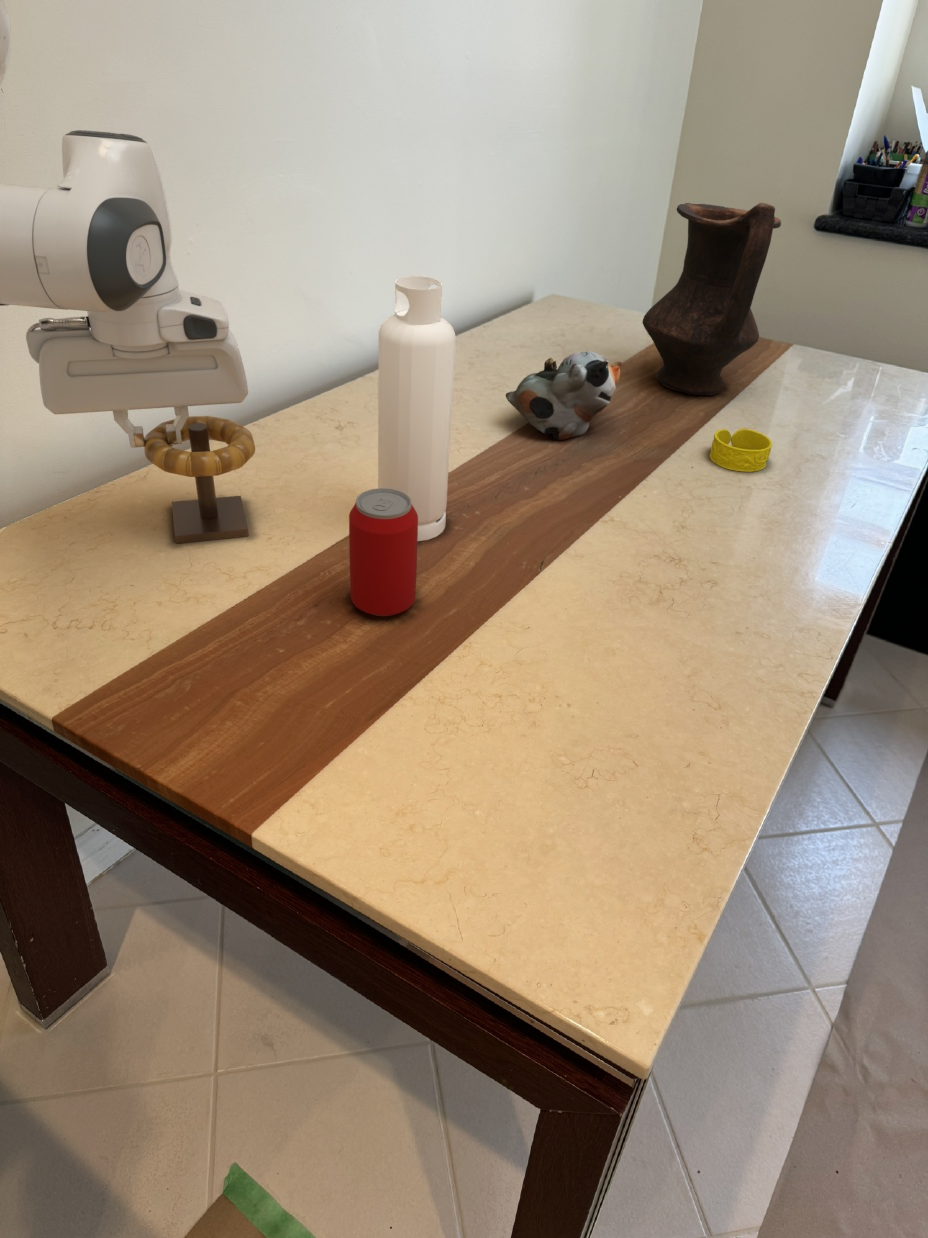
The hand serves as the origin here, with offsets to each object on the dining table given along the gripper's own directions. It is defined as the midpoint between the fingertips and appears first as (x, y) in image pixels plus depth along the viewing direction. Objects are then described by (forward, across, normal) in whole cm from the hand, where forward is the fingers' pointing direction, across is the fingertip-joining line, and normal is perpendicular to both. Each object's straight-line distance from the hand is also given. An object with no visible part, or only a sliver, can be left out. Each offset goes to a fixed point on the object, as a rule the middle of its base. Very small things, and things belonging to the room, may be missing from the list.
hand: (156, 443), depth 94 cm
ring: (+1, +4, 0) cm, 5 cm away
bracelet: (+11, +77, +3) cm, 78 cm away
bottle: (+11, +27, -5) cm, 30 cm away
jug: (+11, +84, +29) cm, 90 cm away
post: (+10, +4, 0) cm, 11 cm away
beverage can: (+11, +20, -20) cm, 30 cm away
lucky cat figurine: (+11, +56, +19) cm, 60 cm away
